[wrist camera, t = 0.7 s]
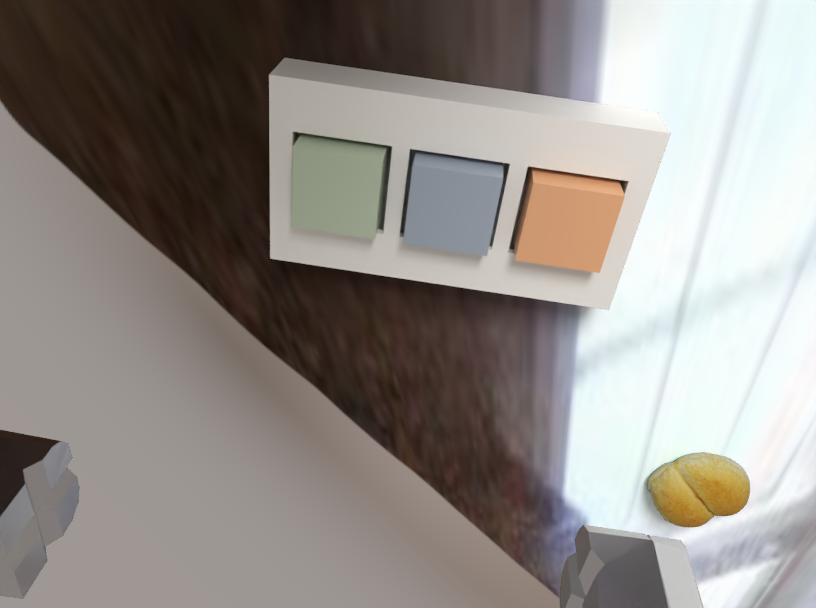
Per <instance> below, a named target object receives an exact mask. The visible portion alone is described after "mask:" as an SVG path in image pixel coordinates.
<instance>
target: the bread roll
mask: <svg viewBox="0 0 816 608" xmlns="http://www.w3.org/2000/svg"><path fill="white" fill-rule="evenodd" d="M647 489H648V491H649V492H650V493H651V495H652V498H653V501H654V504H655V506H656V508H657V510H658V511H659V512H660V514H661V515H662V516H663V518H664V519H665V520H667V521H669V522H671V523H673V524H675V525H678V526H682V527H698V526H701V525H703V524H705V523H707V522H708V521H709V520H710V519H711V518H712V517H714V515H716V516H730V515H733V514H736V513H738V512H739V511H740V510H741V509H743V508H744V506H745V505H746V504H747V501H748V498H749V494H750V482H749V478H748V476H747V474H746V472H745V470H744V469H743V468H742V467H741V466H740V465H739V464H738V463H736V462H735V461H733V460H731V459H729V458H727V457H724V456H720V455H716V454H711V453H705V452H701V453H692V454H688V455H685V456H682V457H680V458H678V459H677V460H676V461H675V462H668V463H665V464H664V465H662V466H661V467H659V468H658V469H657V470H655V471H654V473H653V474H652V475H651V476H650V478H649V480H648V487H647Z"/></svg>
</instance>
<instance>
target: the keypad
mask: <svg viewBox="0 0 816 608" xmlns="http://www.w3.org/2000/svg"><path fill="white" fill-rule="evenodd" d="M301 133H306V134H312V135H319V136H326V137H333V138H340V139H346V140H353V141H360V142H367V143H373V144H380V145H387V146H388V153H387V163H386V173H385V183H384V193H383V203H382V213H381V220H380V224H379V227H378V231H377V234H376V238H375V239H370V238H363V237H357V236H350V235H344V234H337V233H330V232H324V231H317V230H310V229H304V228H297V227H292V163H293V146H294V144H295V143H296V141H297V140H298V138H299V136H300V135H301ZM670 134H671V133H670V131H669V129H668V128H667V126H666V124H665V123H664V121H663V119H662V117H661V116H660V114H659V112H654V111H648V110H641V109H634V108H627V107H620V106H613V105H606V104H599V103H593V102H586V101H579V100H572V99H565V98H558V97H551V96H545V95H538V94H531V93H524V92H517V91H510V90H503V89H496V88H490V87H483V86H476V85H469V84H462V83H455V82H448V81H441V80H435V79H428V78H421V77H414V76H407V75H400V74H393V73H386V72H380V71H373V70H366V69H359V68H352V67H345V66H338V65H332V64H325V63H318V62H311V61H304V60H297V59H290V58H284V59H283V60H282V61H281V62H280V63H279V64H278V65H277V66H276V68H275V69H274V70H273V71H272V72H271V73H270V74H269V151H270V259H276V260H283V261H289V262H296V263H302V264H309V265H316V266H322V267H329V268H335V269H342V270H349V271H355V272H362V273H368V274H375V275H382V276H388V277H395V278H401V279H408V280H415V281H421V282H428V283H434V284H441V285H448V286H454V287H461V288H467V289H474V290H481V291H487V292H494V293H500V294H507V295H514V296H520V297H527V298H533V299H540V300H547V301H553V302H560V303H566V304H573V305H580V306H586V307H593V308H599V309H606V310H609V308H610V305H611V302H612V299H613V296H614V294H615V291H616V288H617V285H618V282H619V279H620V277H621V274H622V271H623V268H624V265H625V262H626V259H627V257H628V254H629V251H630V248H631V245H632V242H633V240H634V237H635V234H636V231H637V228H638V225H639V222H640V220H641V217H642V214H643V211H644V208H645V205H646V203H647V200H648V197H649V194H650V191H651V188H652V185H653V183H654V180H655V177H656V174H657V171H658V168H659V165H660V163H661V160H662V157H663V154H664V151H665V148H666V146H667V143H668V140H669V137H670ZM416 150H421V151H428V152H434V153H441V154H448V155H455V156H461V157H468V158H475V159H482V160H489V161H495V162H502V163H503V182H502V187H501V192H500V197H499V201H498V206H497V211H496V216H495V220H494V225H493V230H492V235H491V239H490V244H489V249H488V254H487V256H483V255H476V254H470V253H463V252H456V251H450V250H443V249H437V248H430V247H423V246H417V245H410V244H403V239H404V231H405V223H406V215H407V207H408V199H409V191H410V183H411V175H412V167H413V162H414V158H415V154H416ZM531 167H536V168H543V169H549V170H556V171H563V172H570V173H577V174H583V175H590V176H597V177H604V178H610V179H617V180H619V181H620V184H621V187H622V189H623V192H624V195H625V198H624V201H623V204H622V207H621V210H620V213H619V216H618V219H617V222H616V225H615V228H614V231H613V234H612V237H611V240H610V243H609V246H608V249H607V252H606V255H605V258H604V261H603V264H602V268H601V271H600V273H596V272H589V271H583V270H576V269H569V268H563V267H556V266H549V265H543V264H536V263H530V262H523V261H516V260H515V248H514V238H515V233H516V229H517V225H518V220H519V216H520V212H521V208H522V203H523V199H524V195H525V190H526V186H527V182H528V178H529V173H530V169H531Z"/></svg>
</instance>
